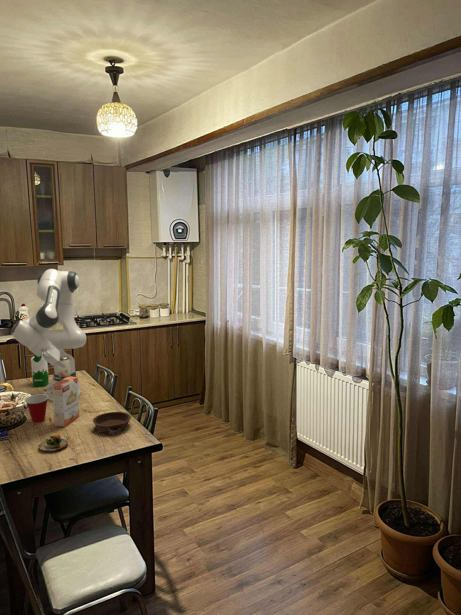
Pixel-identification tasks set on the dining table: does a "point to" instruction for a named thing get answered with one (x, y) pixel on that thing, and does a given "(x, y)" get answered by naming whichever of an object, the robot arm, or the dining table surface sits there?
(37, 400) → the plastic cup
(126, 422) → the dish
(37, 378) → the milk carton
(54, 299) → the robot arm
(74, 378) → the cracker box
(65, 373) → the tea canister
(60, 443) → the burger
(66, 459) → the dining table surface
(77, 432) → the dining table surface
